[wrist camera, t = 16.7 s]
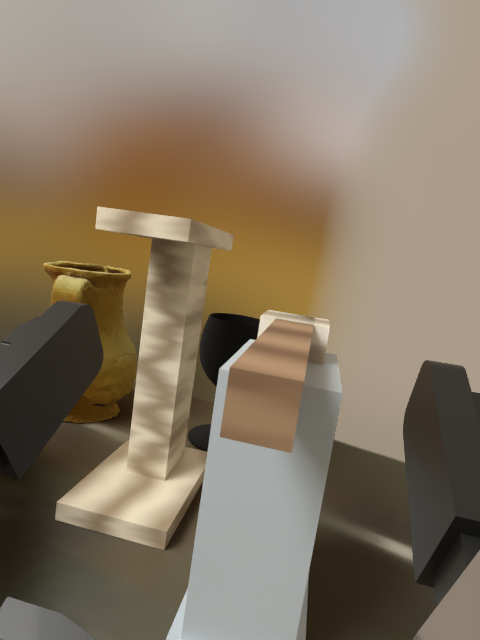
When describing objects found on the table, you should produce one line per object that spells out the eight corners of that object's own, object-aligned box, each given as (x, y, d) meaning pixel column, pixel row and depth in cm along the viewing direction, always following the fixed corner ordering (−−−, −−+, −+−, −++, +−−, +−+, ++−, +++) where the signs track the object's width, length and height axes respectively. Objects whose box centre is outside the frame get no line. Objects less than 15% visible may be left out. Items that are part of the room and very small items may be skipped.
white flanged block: (160, 665, 30) (200, 369, 27) (211, 541, 44) (241, 335, 40) (299, 711, 28) (360, 401, 25) (307, 567, 42) (347, 354, 39)
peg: (323, 460, 17) (336, 387, 16) (190, 430, 18) (200, 361, 17) (323, 352, 38) (329, 320, 38) (263, 341, 39) (268, 309, 39)
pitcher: (155, 408, 76) (163, 269, 71) (69, 447, 60) (73, 270, 55) (88, 385, 84) (92, 259, 79) (-4, 414, 68) (-6, 258, 63)
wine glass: (239, 426, 75) (256, 315, 72) (261, 454, 65) (281, 328, 62) (181, 426, 71) (197, 309, 68) (195, 456, 61) (214, 322, 58)
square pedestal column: (55, 519, 44) (82, 204, 39) (132, 447, 61) (157, 224, 56) (164, 550, 42) (207, 221, 37) (211, 466, 59) (244, 236, 54)
